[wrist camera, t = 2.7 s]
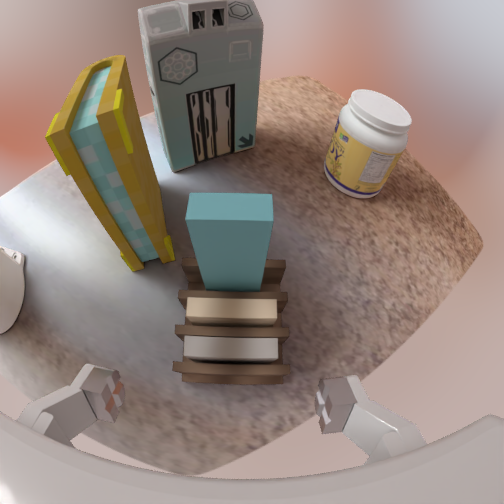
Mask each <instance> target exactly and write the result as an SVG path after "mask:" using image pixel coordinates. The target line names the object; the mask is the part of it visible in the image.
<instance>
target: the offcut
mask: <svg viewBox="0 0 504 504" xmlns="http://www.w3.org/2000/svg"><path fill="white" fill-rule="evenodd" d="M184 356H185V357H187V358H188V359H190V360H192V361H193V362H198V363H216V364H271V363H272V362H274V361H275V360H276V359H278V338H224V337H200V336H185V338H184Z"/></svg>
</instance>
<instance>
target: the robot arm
mask: <svg viewBox="0 0 504 504" xmlns="http://www.w3.org/2000/svg"><path fill="white" fill-rule="evenodd" d="M24 259H25V257H24V255H23V254H22V253H20V252H17V251H14V250H11V249H8V248H5V247H2V246H0V334H1V333H4V332H5V331H7V330H8V329H9V328H10V327H11V326H12V325H13V323H14V322H15V320H16V318H17V316H18V314H19V312H20V309H21V306H22V302H23V297H24V289H25V282H24V274H23V266H24ZM119 379H120V374H119V371H117V370H114V369H109V368H105V367H101V366H95V365H91V364H85V365H84V366H83V368H82V369H81V370H80V372H79V373H78V375H77V376H76V378H75V379H74V381H73V382H72V384H71V385H70V386H65V387H63V388H61V389H59V390H56V391H54V392H52V393H50V394H48V395H46V396H44V397H42V398H39V399H37V400H35V401H33V402H31V403H28V405H27V406H26V408H25V409H24V411H23V412H22V413H21V415H20V416H19V418H18V419H17V421H16V420H14V419H12V418H10V417H9V416H7V415H5V414H4V413H2V412H1V411H0V504H504V419H503V418H500V417H498V416H494V415H487V416H485V417H482V418H481V419H479V420H477V421H475V422H474V423H472V424H470V425H468V426H466V427H464V428H462V429H460V430H458V431H456V432H454V433H452V434H450V435H448V436H446V437H443V438H441V439H439V440H437V441H434V442H432V443H430V444H427V443H426V441H425V440H424V438H423V436H422V435H421V433H420V431H419V429H418V428H417V426H416V424H414V423H413V422H411V421H409V420H407V419H405V418H403V417H402V416H400V415H398V414H396V413H395V412H393V411H391V410H389V409H388V408H386V407H384V406H382V405H380V404H379V403H377V402H375V401H374V400H372V401H370V399H369V397H368V395H367V393H366V392H365V389H364V388H363V386H362V384H361V382H360V380H359V378H358V376H357V375H350V376H344V377H335V378H326V379H321V380H320V381H319V385H318V387H319V391H318V392H317V393H316V397H315V410H316V414H317V415H318V416H320V420H319V424H320V428H321V431H322V434H327V433H336V432H342V433H343V434H344V435H346V436H347V437H348V438H349V439H350V440H351V441H352V442H354V443H355V444H356V445H357V446H358V447H359V448H361V449H362V450H363V451H364V452H365V453H367V454H368V455H369V456H370V457H369V458H368V459H367V461H366V462H365V464H364V465H362V466H358V467H353V468H349V469H344V470H339V471H334V472H328V473H322V474H315V475H307V476H299V477H289V478H276V479H217V478H203V477H192V476H184V475H177V474H170V473H164V472H158V471H153V470H148V469H142V468H138V467H134V466H130V465H126V464H122V463H118V462H114V461H111V460H108V459H104V458H101V457H98V456H95V455H92V454H88V453H86V452H83V451H80V450H78V449H75V447H74V446H73V444H72V443H71V442H70V440H71V439H72V438H74V437H75V436H76V435H78V434H79V433H81V432H82V431H83V430H85V429H86V428H87V427H89V426H90V425H91V424H93V423H94V422H95V421H97V419H99V420H103V421H107V422H111V423H115V421H116V418H117V416H118V414H119V410H118V407H120V406H121V405H122V404H123V402H124V399H125V389H124V386H123V384H122V383H121V382H120V381H119Z"/></svg>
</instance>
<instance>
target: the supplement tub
mask: <svg viewBox="0 0 504 504" xmlns="http://www.w3.org/2000/svg"><path fill="white" fill-rule="evenodd" d="M411 121H412V120H411V117H410V115H409V113H408V112H407V111H406V110H405V109H404V108H403V107H402V106H401V105H399V104H398V103H397V102H396V101H394V100H393V99H391V98H389V97H387V96H385V95H383V94H380V93H377V92H374V91H371V90H356V91H354V92H353V93H352V95H351V98H350V99H349V101H348V104H346V105H345V106H344V107H343V108H342V109H341V111H340V113H339V117H338V121H337V124H336V127H335V130H334V133H333V137H332V140H331V143H330V146H329V149H328V152H327V155H326V158H325V161H324V170H325V174H326V176H327V178H328V180H329V181H330V182H331V183H332V185H333V186H335V187H336V188H337V189H338V190H340V191H341V192H343V193H345V194H347V195H349V196H352V197H356V198H370V197H373V196H375V195H377V194H378V193H379V192H380V191H381V189H382V188H383V186H384V184H385V182H386V181H387V179H388V177H389V176H390V174H391V172H392V170H393V169H394V167H395V165H396V163H397V162H398V160H399V158H400V156H401V154H402V153H403V151H404V149H405V148H406V145H407V142H408V134H407V132H408V130H409V127H410V125H411Z"/></svg>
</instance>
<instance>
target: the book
mask: <svg viewBox="0 0 504 504" xmlns="http://www.w3.org/2000/svg"><path fill="white" fill-rule="evenodd" d="M45 138H46V140H47V142H48V144H49V146H50V147H51V149H52V151H53V153H54V155H55V157H56V158H57V160H58V162H59V164H60V165H61V167H62V169H63V171H64V172H65V174H66V176H68V175H71V176H72V177H73V179H74V181H75V182H76V184H77V186H78V188H79V189H80V191H81V192H82V194H83V196H84V197H85V199H86V201H87V202H88V204H89V205H90V207H91V208H92V210H93V211H94V213H95V215H96V216H97V218H98V219H99V221H100V222H101V224H102V225H103V227H104V228H105V230H106V231H107V232H108V234H109V235H110V237H111V238H112V240H113V241H114V242H115V244H116V245H117V247H118V248H119V249H120V254H121V257H122V259H123V260H124V261H125V262H126V264H127V265H128V266H129V268H130V269H131V270H132V272H133V271H137V270H141V269H144V261H148V260H152V259H155V258H160V259H161V261H162V263H167V262H171V261H174V260H175V256H174V251H173V246H172V241H171V237H170V235H168V236H167V230H166V225H165V218H164V212H163V206H162V199H161V192H160V187H159V184H158V181H157V177H156V174H155V171H154V168H153V164H152V161H151V158H150V154H149V151H148V147H147V144H146V140H145V137H144V133H143V129H142V126H141V122H140V118H139V114H138V110H137V106H136V102H135V98H134V94H133V90H132V86H131V81H130V77H129V72H128V68H127V63H126V58H125V56H123V55H116V56H111V57H108V58H105V59H102V60H99V61H97V62H95V63H93V64H91V65H90V66H88V67H86V68H85V69H84V70H83V71H82V72H81V73H80V75H79V76H78V78H77V80H76V82H75V83H74V85H73V87H72V89H71V91H70V93H69V94H68V96H67V98H66V100H65V102H64V104H63V106H62V109H61V111H60V112H59V113H57V114H55V116H54V118H53V120H52V123H51V125H50V127H49V129H48V131H47V134H46V136H45Z"/></svg>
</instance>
